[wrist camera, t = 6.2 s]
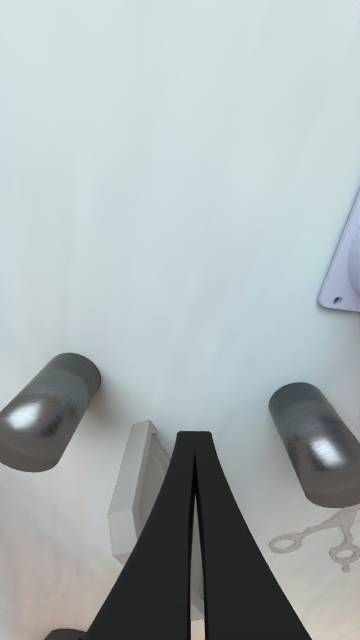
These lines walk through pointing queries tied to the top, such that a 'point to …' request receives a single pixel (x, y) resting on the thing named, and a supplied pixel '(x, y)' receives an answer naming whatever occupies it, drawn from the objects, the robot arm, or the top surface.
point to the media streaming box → (66, 635)
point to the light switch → (146, 503)
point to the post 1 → (47, 413)
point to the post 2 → (318, 445)
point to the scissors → (340, 518)
